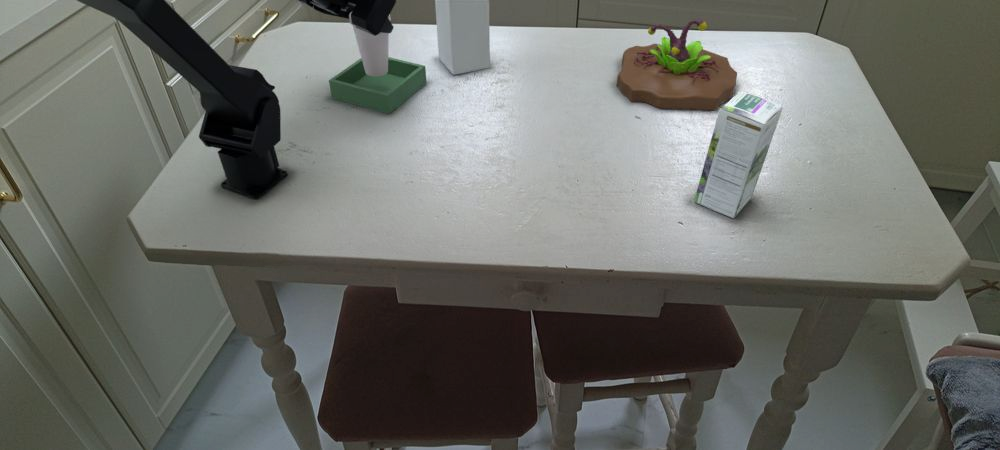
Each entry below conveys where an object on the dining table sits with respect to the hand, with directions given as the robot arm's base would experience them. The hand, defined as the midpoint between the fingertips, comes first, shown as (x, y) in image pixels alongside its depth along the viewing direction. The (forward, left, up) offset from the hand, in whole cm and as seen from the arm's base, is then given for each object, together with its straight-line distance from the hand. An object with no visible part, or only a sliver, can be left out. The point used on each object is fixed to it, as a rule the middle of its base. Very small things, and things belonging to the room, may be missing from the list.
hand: (377, 24), depth 101 cm
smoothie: (-1, 0, -8) cm, 8 cm away
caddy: (-1, 0, -11) cm, 11 cm away
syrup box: (-6, -58, -11) cm, 59 cm away
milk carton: (+14, -8, -11) cm, 19 cm away
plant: (+24, -44, -11) cm, 51 cm away
